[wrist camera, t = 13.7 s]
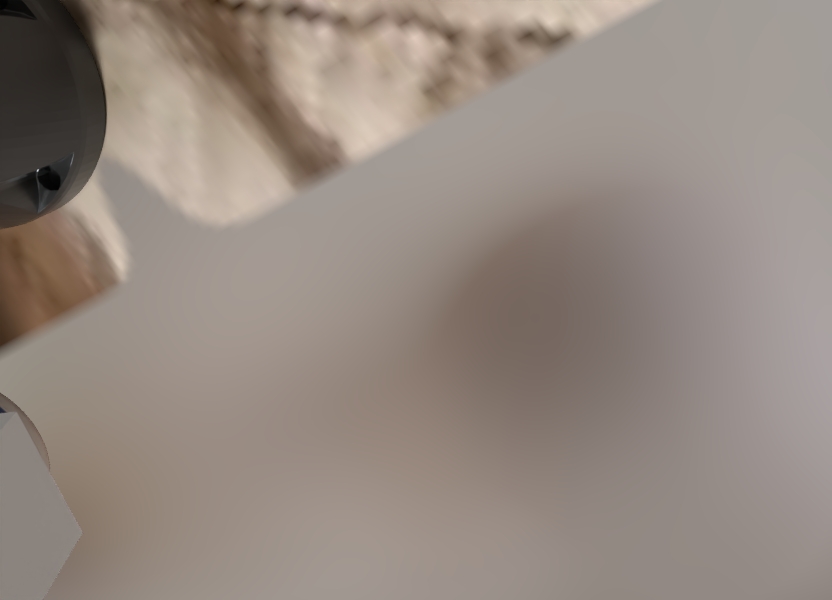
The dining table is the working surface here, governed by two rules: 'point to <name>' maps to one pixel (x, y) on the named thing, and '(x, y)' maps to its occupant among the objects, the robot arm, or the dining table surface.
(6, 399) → the supplement tub
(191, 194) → the dining table surface
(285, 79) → the dining table surface
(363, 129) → the dining table surface
